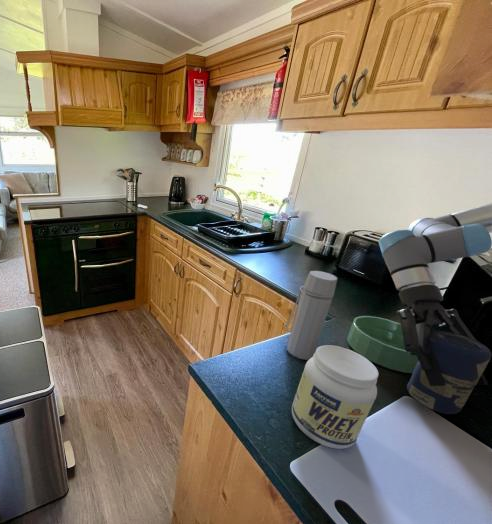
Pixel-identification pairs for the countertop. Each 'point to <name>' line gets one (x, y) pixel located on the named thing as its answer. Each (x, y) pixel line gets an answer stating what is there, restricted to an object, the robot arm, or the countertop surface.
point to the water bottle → (310, 314)
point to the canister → (450, 372)
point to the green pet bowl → (381, 343)
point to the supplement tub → (335, 396)
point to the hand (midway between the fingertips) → (459, 385)
